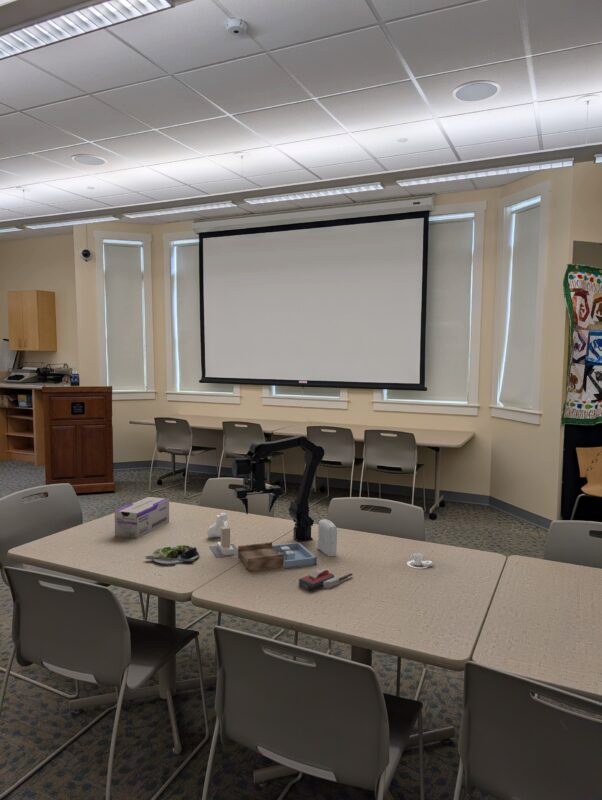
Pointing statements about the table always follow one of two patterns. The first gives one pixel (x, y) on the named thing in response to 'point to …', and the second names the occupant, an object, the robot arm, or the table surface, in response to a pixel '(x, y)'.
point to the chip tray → (297, 555)
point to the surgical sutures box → (141, 517)
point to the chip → (283, 549)
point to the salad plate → (175, 555)
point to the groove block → (260, 556)
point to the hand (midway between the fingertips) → (258, 513)
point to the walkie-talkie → (320, 580)
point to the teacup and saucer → (419, 561)
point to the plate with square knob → (225, 542)
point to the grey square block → (289, 555)
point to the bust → (217, 525)
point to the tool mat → (219, 554)
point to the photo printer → (327, 537)
